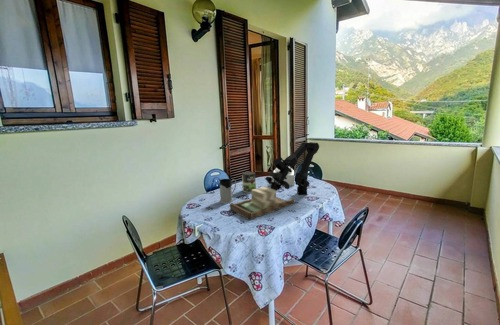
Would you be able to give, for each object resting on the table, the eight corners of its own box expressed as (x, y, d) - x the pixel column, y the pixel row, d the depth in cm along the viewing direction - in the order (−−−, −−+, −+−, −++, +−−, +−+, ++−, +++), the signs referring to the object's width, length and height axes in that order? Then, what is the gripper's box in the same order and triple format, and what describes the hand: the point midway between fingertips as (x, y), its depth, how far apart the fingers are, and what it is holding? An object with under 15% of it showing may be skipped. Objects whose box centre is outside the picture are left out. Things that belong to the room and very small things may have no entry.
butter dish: (272, 185, 202) (271, 166, 199) (273, 179, 219) (273, 162, 216) (294, 185, 199) (294, 166, 196) (293, 179, 217) (293, 162, 213)
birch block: (265, 199, 166) (264, 186, 164) (276, 203, 157) (275, 189, 155) (251, 203, 159) (251, 189, 157) (262, 208, 151) (262, 193, 149)
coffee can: (258, 191, 189) (257, 173, 186) (246, 193, 185) (245, 175, 182) (252, 187, 198) (251, 170, 195) (240, 190, 194) (239, 172, 191)
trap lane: (273, 196, 176) (273, 190, 176) (294, 203, 161) (294, 197, 160) (230, 209, 155) (230, 203, 155) (249, 219, 140) (248, 213, 139)
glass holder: (217, 201, 171) (216, 180, 168) (232, 196, 181) (231, 176, 178) (225, 204, 165) (224, 182, 162) (240, 198, 175) (239, 178, 172)
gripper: (266, 164, 168) (254, 183, 163) (286, 169, 153) (273, 189, 149) (275, 174, 174) (264, 192, 169) (295, 179, 159) (283, 199, 155)
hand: (270, 193), depth 160 cm, fingers closed, pressing on birch block
